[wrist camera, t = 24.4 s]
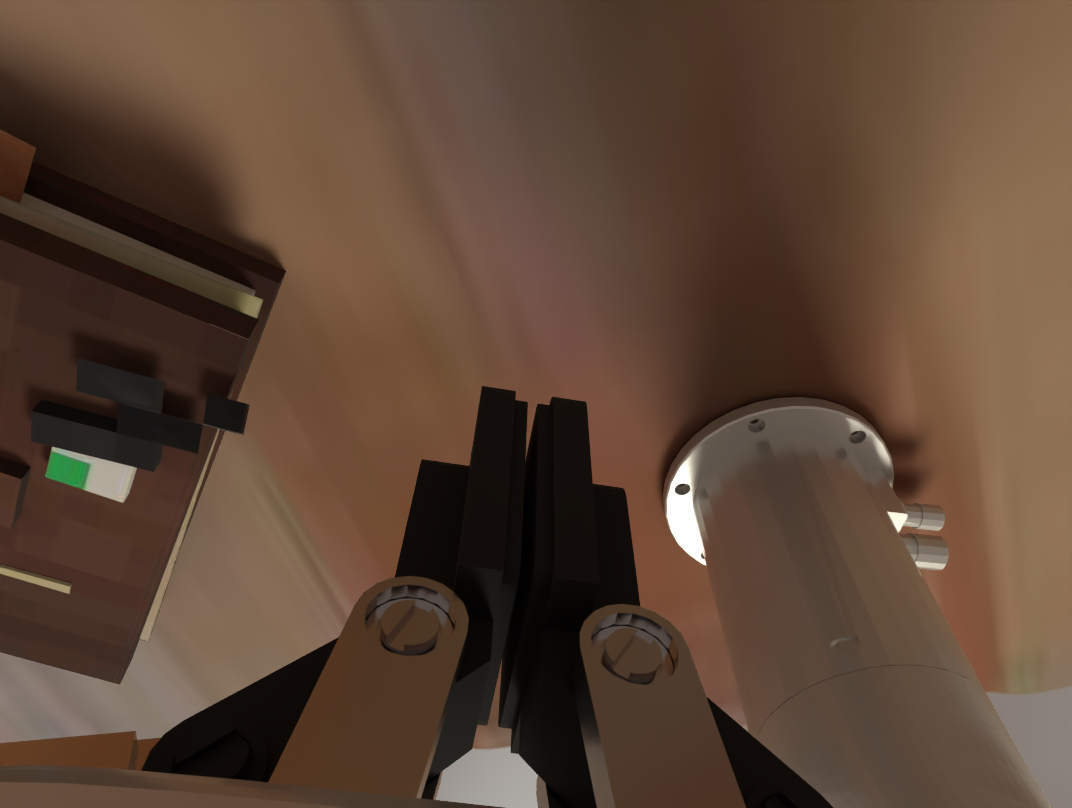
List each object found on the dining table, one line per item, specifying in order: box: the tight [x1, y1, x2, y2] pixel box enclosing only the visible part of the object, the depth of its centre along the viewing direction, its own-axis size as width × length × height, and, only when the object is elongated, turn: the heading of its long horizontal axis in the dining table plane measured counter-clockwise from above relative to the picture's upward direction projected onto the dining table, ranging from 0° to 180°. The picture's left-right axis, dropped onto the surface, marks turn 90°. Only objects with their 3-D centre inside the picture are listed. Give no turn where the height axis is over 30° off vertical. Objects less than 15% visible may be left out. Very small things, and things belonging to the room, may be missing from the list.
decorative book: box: [0, 129, 286, 684], centre depth 39 cm, size 19×8×30 cm
